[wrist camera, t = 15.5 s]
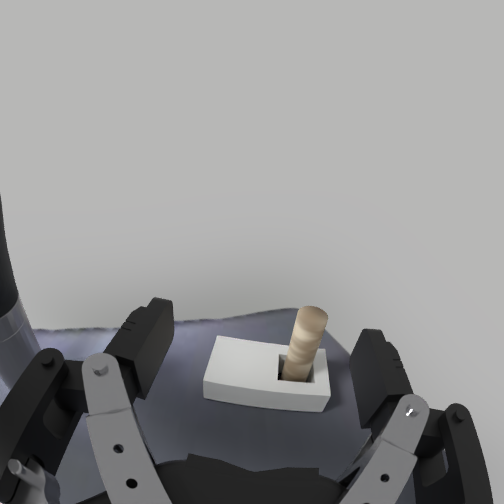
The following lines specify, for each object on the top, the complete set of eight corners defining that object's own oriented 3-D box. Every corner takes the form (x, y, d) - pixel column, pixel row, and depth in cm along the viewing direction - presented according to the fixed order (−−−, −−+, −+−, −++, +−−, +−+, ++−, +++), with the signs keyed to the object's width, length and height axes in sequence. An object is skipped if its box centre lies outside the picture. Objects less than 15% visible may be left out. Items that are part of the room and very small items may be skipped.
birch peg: (277, 394, 38) (298, 322, 32) (278, 376, 42) (297, 304, 36) (302, 397, 38) (329, 326, 32) (302, 378, 42) (326, 307, 35)
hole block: (203, 397, 36) (203, 380, 34) (216, 353, 45) (217, 335, 43) (322, 412, 35) (330, 395, 33) (318, 366, 44) (325, 349, 42)
